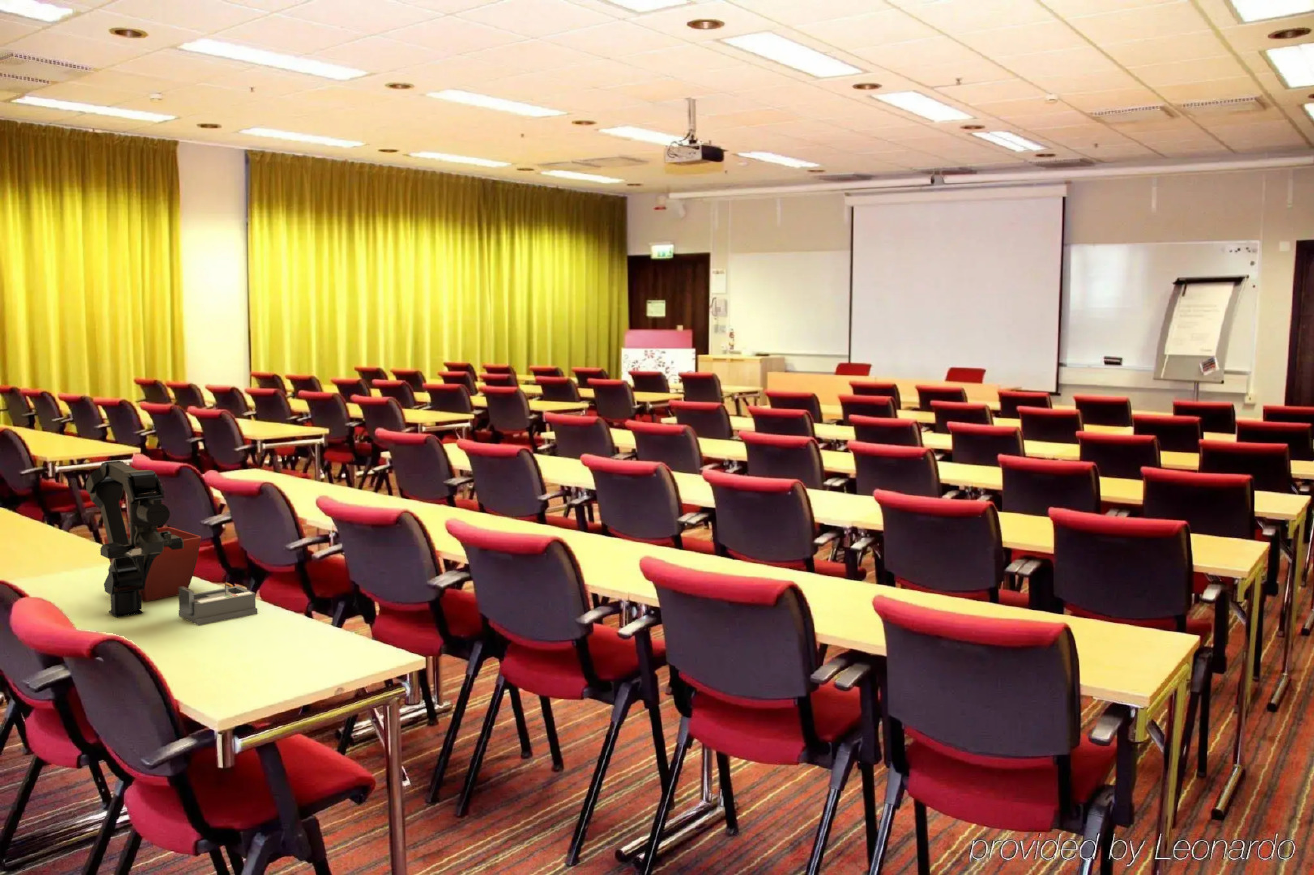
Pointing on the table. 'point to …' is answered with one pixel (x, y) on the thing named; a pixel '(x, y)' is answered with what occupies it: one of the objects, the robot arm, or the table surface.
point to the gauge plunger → (188, 599)
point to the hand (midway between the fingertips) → (143, 579)
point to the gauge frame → (222, 606)
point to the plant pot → (170, 567)
